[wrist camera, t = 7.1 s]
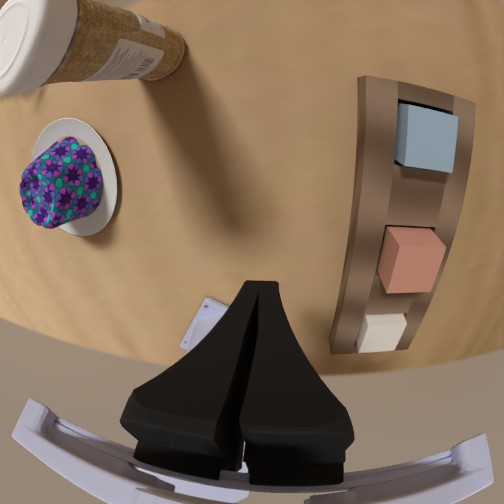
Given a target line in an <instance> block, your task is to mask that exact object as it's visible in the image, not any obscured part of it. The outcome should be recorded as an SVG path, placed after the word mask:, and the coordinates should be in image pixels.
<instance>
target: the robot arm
mask: <svg viewBox="0 0 504 504" xmlns="http://www.w3.org/2000/svg"><path fill="white" fill-rule="evenodd" d="M206 305H207V306H206ZM180 347H181V348H183V349H185V350H187V351H186V354H185V356H184V357H182V358H181V359H180V360H179V361H178V362H176V363H175V364H173V365H172V366H171V367H169V368H168V369H167V370H165V371H164V372H162V373H161V374H159V375H158V376H157V377H155V378H153V379H152V380H150V381H148V382H146V383H145V384H143V385H141V386H140V387H138V388H136V389H134V390H133V392H132V394H131V396H130V397H129V399H128V401H127V403H126V406H125V409H124V411H123V413H122V416H121V419H120V423H121V425H122V427H123V428H124V429H125V430H126V431H128V432H129V433H130V434H131V435H132V436H134V437H135V438H136V439H137V440H138V443H137V446H136V449H132V448H129V447H126V446H123V445H121V444H118V443H115V442H113V441H110V440H108V439H105V438H103V437H100V436H98V435H95V434H93V433H91V432H88V431H86V430H84V429H82V428H80V427H77V426H76V425H74V424H72V423H70V422H68V421H66V420H64V419H62V418H60V417H58V416H57V415H56V414H55V413H54V412H52V410H50V409H49V408H48V407H46V406H45V405H43V404H42V403H40V402H38V401H37V400H35V399H33V398H29V400H28V402H27V404H26V406H25V408H24V410H23V412H22V414H21V416H20V419H19V421H18V423H17V425H16V427H15V429H14V431H13V433H12V437H13V438H14V439H15V440H16V441H17V442H19V443H20V444H21V445H22V446H24V447H25V448H26V449H27V450H29V451H30V452H31V453H32V454H34V455H35V456H36V457H38V458H39V459H40V460H41V461H42V462H44V463H45V464H46V465H48V466H49V467H50V468H52V469H53V470H55V471H56V472H57V473H59V474H60V475H62V476H63V477H65V478H66V479H68V480H69V481H71V482H72V483H74V484H75V485H77V486H78V487H80V488H82V489H83V490H85V491H87V492H88V493H90V494H92V495H94V496H95V497H97V498H99V499H101V500H103V501H105V502H106V503H109V504H235V502H237V501H240V500H242V499H245V498H247V497H248V496H249V493H250V492H251V491H255V492H271V493H315V492H330V491H341V490H348V491H346V492H339V493H331V494H323V495H313V496H311V497H310V498H309V499H306V500H305V501H304V504H454V503H456V502H458V501H460V500H462V499H464V498H466V497H468V496H470V495H472V494H474V493H476V492H478V491H480V490H482V489H483V488H485V487H487V486H489V485H490V484H492V483H493V481H494V479H493V471H492V464H491V459H490V453H489V448H488V443H487V439H486V434H485V433H481V434H479V435H476V436H474V437H471V438H469V439H466V440H464V441H462V442H460V443H458V444H457V445H455V446H454V447H452V449H450V450H447V451H444V452H441V453H438V454H435V455H432V456H428V457H425V458H421V459H418V460H414V461H410V462H405V463H401V464H397V465H392V466H387V467H382V468H376V469H370V470H363V471H355V472H347V473H344V468H343V462H345V450H346V449H347V448H348V447H349V446H350V445H351V444H352V443H353V441H354V431H353V426H352V423H351V420H350V417H349V415H348V412H347V410H346V408H345V407H344V406H343V405H342V403H341V402H340V401H339V400H338V399H337V398H336V397H335V396H334V395H333V393H332V392H331V391H330V390H329V389H328V387H327V386H326V385H325V384H324V382H323V381H322V380H321V378H320V377H319V375H318V374H317V373H316V371H315V370H314V368H313V367H312V365H311V364H310V362H309V361H308V359H307V357H306V356H305V354H304V353H303V351H302V349H301V347H300V345H299V343H298V342H297V340H296V338H295V335H294V333H293V331H292V329H291V327H290V324H289V322H288V319H287V317H286V314H285V311H284V308H283V305H282V302H281V298H280V293H279V283H278V282H276V281H250V280H247V281H245V282H244V284H243V286H242V288H241V289H240V291H239V293H238V294H237V296H236V297H235V299H234V301H233V302H232V304H231V305H230V306H226V305H224V304H222V303H220V302H217V301H215V300H213V299H211V298H206V299H205V300H204V301H203V303H202V305H201V307H200V309H199V311H198V312H197V314H196V316H195V318H194V320H193V321H192V323H191V325H190V327H189V329H188V331H187V332H186V334H185V336H184V338H183V340H182V342H181V344H180ZM134 466H135V467H138V470H137V469H136V468H135V467H134Z"/></svg>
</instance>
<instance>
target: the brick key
mask: <svg viewBox="0 0 504 504" xmlns="http://www.w3.org/2000/svg"><path fill="white" fill-rule="evenodd" d="M445 250H446V246H445V245H444V244H443V243H442V242H441V240H440V239H439V238H438V237H437V236H436V234H435V233H434V232H433V231H432V230H431V229H430V228H419V227H399V226H387V227H386V232H385V237H384V242H383V247H382V251H381V256H380V260H379V264H378V269H377V271H378V273H379V276H380V278H381V281H382V283H383V285H384V288H385V290H386V293H413V292H431V289H432V287H433V284H434V282H435V279H436V276H437V273H438V271H439V268H440V265H441V262H442V259H443V256H444V253H445Z"/></svg>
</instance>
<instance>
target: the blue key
mask: <svg viewBox="0 0 504 504" xmlns="http://www.w3.org/2000/svg"><path fill="white" fill-rule="evenodd" d="M457 128H458V117H457V116H453V115H450V114H446V113H443V112H439V111H435V110H431V109H427V108H422V107H418V106H413V105H408V104H400V103H398V111H397V133H396V147H395V160H396V161H398V162H399V163H401V164H402V165H404V166H409V167H416V168H423V169H430V170H436V171H443V172H448V173H452V171H453V164H454V157H455V149H456V140H457Z"/></svg>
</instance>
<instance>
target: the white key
mask: <svg viewBox="0 0 504 504" xmlns="http://www.w3.org/2000/svg"><path fill="white" fill-rule="evenodd" d="M406 325H407V322H406V320H405V317H404V314H403V313H399V314H378V315H363V319H362V322H361V325H360V328H359V331H358V334H357V337H356V343H357V348H358V353H367V352H381V351H393V350H395V348H396V346H397V344H398V342H399V340H400V338H401V336H402V334H403V332H404V329H405V327H406Z"/></svg>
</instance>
